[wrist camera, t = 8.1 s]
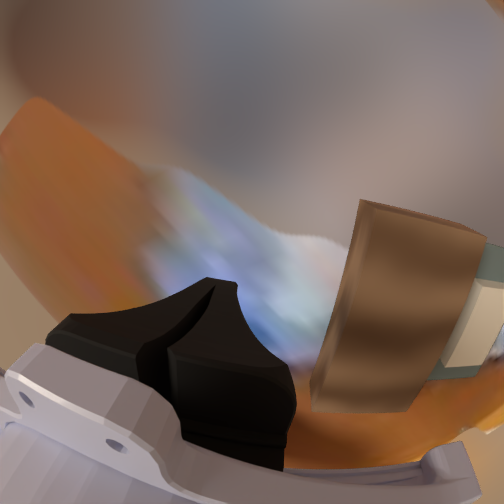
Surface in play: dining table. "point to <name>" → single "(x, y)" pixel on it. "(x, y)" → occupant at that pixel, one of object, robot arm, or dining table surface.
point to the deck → (393, 309)
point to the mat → (490, 268)
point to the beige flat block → (476, 325)
